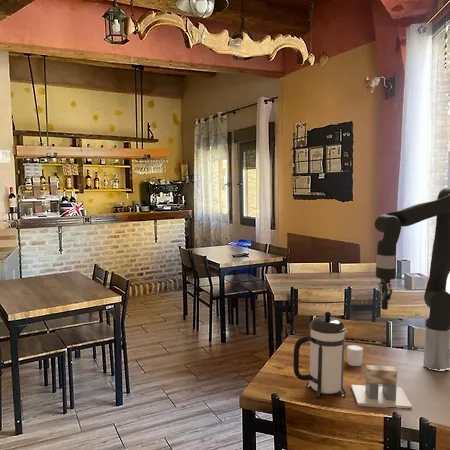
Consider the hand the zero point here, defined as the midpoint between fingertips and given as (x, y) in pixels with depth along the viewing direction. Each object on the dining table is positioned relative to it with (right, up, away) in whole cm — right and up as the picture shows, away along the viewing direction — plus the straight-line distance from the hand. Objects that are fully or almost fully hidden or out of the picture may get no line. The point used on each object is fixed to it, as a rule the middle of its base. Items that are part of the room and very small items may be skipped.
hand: (384, 309), depth 175 cm
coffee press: (-27, -28, -12) cm, 41 cm away
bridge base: (-7, -29, -17) cm, 34 cm away
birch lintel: (-7, -23, -17) cm, 29 cm away
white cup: (-8, -26, +14) cm, 30 cm away
